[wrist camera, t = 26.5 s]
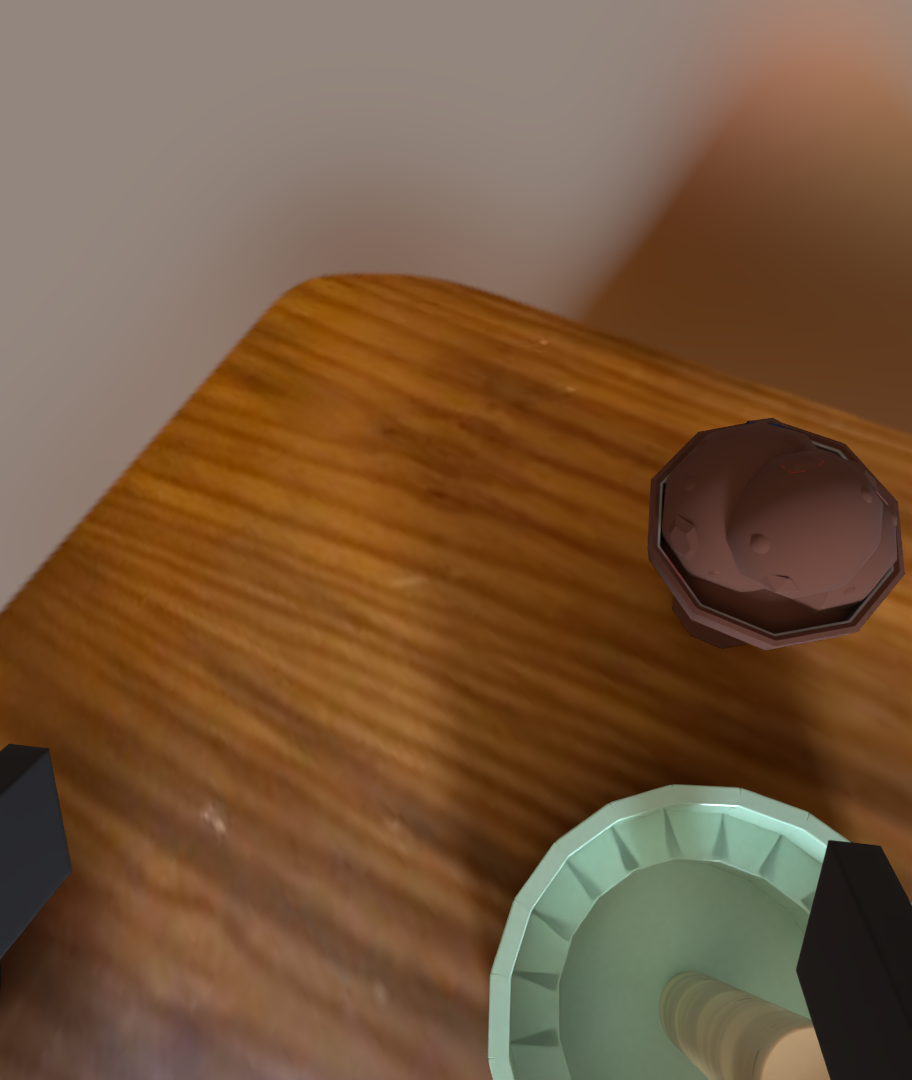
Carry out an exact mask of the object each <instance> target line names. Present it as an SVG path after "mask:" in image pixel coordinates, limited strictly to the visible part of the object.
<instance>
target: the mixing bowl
mask: <svg viewBox="0 0 912 1080" xmlns="http://www.w3.org/2000/svg"><path fill="white" fill-rule="evenodd" d="M828 840H834V841H843V842H850V841H849V840H847V839H846V838H845V837H843V836H842V835H840V834H839V833H838V832H836V831H835V830H833V829H832V828H831V827H829V826H828V825H826V824H825V823H824V822H822V821H821V820H819V819H818V818H817V817H815V816H814V815H812V814H811V813H808V812H807V811H805V810H803V809H800V808H797V807H794V806H791V805H789V804H786V803H783V802H780V801H778V800H775V799H772V798H769V797H766V796H764V795H761V794H758V793H755V792H753V791H750V790H747V789H744V788H739V787H728V786H706V785H683V784H673V785H667V786H663V787H660V788H656V789H653V790H650V791H646V792H643V793H639V794H636V795H633V796H629V797H626V798H622V799H619V800H615V801H612V802H610V803H608V804H606V805H604V806H603V807H602V808H600V809H599V810H598V811H596V812H595V813H593V814H592V815H591V816H589V817H588V818H586V819H585V820H584V821H582V822H581V823H580V824H578V825H577V826H575V827H574V828H573V829H571V830H570V831H568V832H567V833H566V834H564V835H563V836H561V837H560V838H559V839H557V840H556V841H555V842H554V843H553V844H552V846H551V847H550V849H549V850H548V851H547V853H546V854H545V856H544V857H543V859H542V860H541V861H540V863H539V864H538V866H537V867H536V868H535V870H534V871H533V873H532V874H531V875H530V877H529V878H528V880H527V881H526V883H525V884H524V885H523V887H522V888H521V890H520V891H519V892H518V894H517V895H516V897H515V898H514V899H515V900H514V901H513V903H512V906H511V909H510V912H509V916H508V919H507V922H506V925H505V928H504V931H503V934H502V937H501V940H500V944H499V947H498V950H497V953H496V956H495V959H494V962H493V965H492V969H491V973H490V993H489V1026H488V1062H489V1066H490V1070H491V1075H492V1079H493V1080H709V1079H708V1078H707V1077H706V1076H705V1075H704V1074H703V1073H702V1072H701V1071H700V1070H699V1069H698V1068H697V1067H696V1066H695V1065H694V1064H693V1063H692V1062H691V1061H690V1060H689V1059H688V1058H687V1057H686V1056H685V1055H684V1054H683V1053H682V1052H681V1051H680V1050H679V1049H678V1048H677V1047H676V1046H675V1045H674V1044H673V1043H672V1042H671V1041H670V1039H669V1038H668V1037H667V1035H666V1033H665V1031H664V1029H663V1027H662V1024H661V1020H660V1015H659V1002H660V997H661V994H662V991H663V989H664V987H665V986H666V984H667V983H668V982H669V981H670V980H671V979H672V978H673V977H675V976H676V975H678V974H680V973H684V972H700V973H703V974H706V975H708V976H710V977H713V978H715V979H717V980H720V981H722V982H724V983H727V984H729V985H731V986H734V987H736V988H738V989H741V990H743V991H745V992H748V993H750V994H752V995H755V996H757V997H759V998H762V999H764V1000H766V1001H769V1002H771V1003H773V1004H776V1005H778V1006H780V1007H783V1008H785V1009H787V1010H790V1011H792V1012H794V1013H797V1014H799V1015H801V1016H804V1017H806V1018H808V1019H811V1017H810V1014H809V1011H808V1007H807V1004H806V1001H805V998H804V995H803V992H802V988H801V985H800V982H799V979H798V976H797V973H796V967H797V963H798V959H799V955H800V951H801V947H802V943H803V939H804V935H805V931H806V927H807V923H808V919H809V915H810V912H811V908H812V904H813V900H814V896H815V892H816V888H817V884H818V880H819V876H820V872H821V868H822V864H823V860H824V856H825V852H826V848H827V844H828ZM851 843H852V842H851ZM910 903H911V902H910ZM911 905H912V903H911Z"/></svg>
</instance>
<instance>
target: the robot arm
mask: <svg viewBox="0 0 912 1080" xmlns="http://www.w3.org/2000/svg"><path fill="white" fill-rule="evenodd" d="M71 872H72V868H71V863H70V857H69V852H68V847H67V841H66V836H65V831H64V826H63V820H62V815H61V810H60V804H59V799H58V794H57V788H56V783H55V778H54V772H53V767H52V762H51V757H50V751H49V748H40V747H32V746H23V745H14V744H8V745H7V746H6V747H5V748H4V749H3V750H1V751H0V959H1V958H2V957H3V956H4V954H5V953H6V952H7V951H8V949H9V948H10V947H11V946H12V944H13V943H14V942H15V941H16V939H17V938H18V937H19V936H20V935H21V933H22V932H23V931H24V930H25V928H26V927H27V926H28V925H29V923H30V922H31V921H32V920H33V918H34V917H35V916H36V915H37V914H38V912H39V911H40V910H41V909H42V907H43V906H44V905H45V904H46V902H47V901H48V900H49V899H50V897H51V896H52V895H53V894H54V893H55V891H56V890H57V889H58V888H59V886H60V885H61V884H62V883H63V881H64V880H65V879H66V878H67V877H68V875H69V874H70V873H71ZM796 973H797V976H798V979H799V982H800V985H801V988H802V992H803V995H804V998H805V1001H806V1004H807V1007H808V1011H809V1014H810V1017H811V1020H812V1023H813V1026H814V1030H815V1033H816V1036H817V1039H818V1042H819V1045H820V1049H821V1052H822V1055H823V1058H824V1061H825V1064H826V1067H827V1071H828V1074H829V1077H830V1080H912V905H911V903H910V901H909V899H908V897H907V895H906V893H905V892H904V890H903V888H902V886H901V884H900V882H899V880H898V878H897V876H896V875H895V873H894V871H893V869H892V867H891V865H890V863H889V861H888V859H887V857H886V856H885V854H884V852H883V850H882V848H881V846H877V845H868V844H860V843H851V842H843V841H834V840H828V844H827V848H826V852H825V856H824V860H823V864H822V868H821V872H820V876H819V880H818V884H817V888H816V892H815V896H814V900H813V904H812V908H811V912H810V915H809V919H808V923H807V927H806V931H805V935H804V939H803V943H802V947H801V951H800V955H799V959H798V963H797V967H796Z"/></svg>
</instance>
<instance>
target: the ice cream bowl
mask: <svg viewBox="0 0 912 1080" xmlns="http://www.w3.org/2000/svg"><path fill="white" fill-rule="evenodd" d="M648 555H649V561H650V562H651V563H652V565H653V566H654V568H655V569H656V571H657V572H658V573H659V575H660V576H661V578H662V579H663V580H664V582H665V583H666V585H667V586H668V588H669V589H670V590H671V592H672V593H673V611H674V612H675V614H676V615H677V616H678V618H679V619H680V621H681V622H682V624H683V625H684V626H685V628H686V629H687V631H688V632H689V634H690V635H691V636H693V637H695V638H698V639H700V640H703V641H705V642H707V643H710V644H712V645H714V646H717V647H719V648H722V649H723V648H728V647H734V646H739V645H745V644H751V645H754V646H756V647H758V648H761V649H763V650H769V649H775V648H780V647H786V646H791V645H796V644H802V643H807V642H813V641H818V640H824V639H829V638H835V637H840V636H844V635H847V634H851V633H854V632H858V631H859V630H860V628H861V627H862V626H863V625H864V623H865V622H866V621H867V620H868V619H869V617H870V616H871V615H872V614H873V612H874V611H875V610H876V609H877V608H878V606H879V605H880V604H881V603H882V601H883V600H884V599H885V598H886V596H887V595H888V594H889V593H890V592H891V590H892V589H893V588H894V587H895V585H896V584H897V583H898V582H899V581H900V579H901V578H902V577H903V576H904V574H905V572H904V561H903V551H902V541H901V531H900V520H899V510H898V502H897V501H896V499H895V498H894V497H893V496H892V495H891V494H890V493H889V492H888V491H887V490H886V488H885V487H884V486H883V485H882V484H881V483H880V482H879V481H878V480H877V478H876V477H875V476H874V475H873V474H872V473H871V472H870V471H869V470H868V469H867V467H866V466H865V465H864V464H863V463H862V462H861V461H860V460H859V459H858V457H857V456H856V455H855V454H854V453H853V452H852V451H851V450H850V449H849V447H848V446H847V445H846V444H844V443H841V442H838V441H835V440H832V439H829V438H826V437H823V436H820V435H817V434H814V433H811V432H808V431H805V430H802V429H799V428H796V427H793V426H790V425H787V424H784V423H782V422H780V421H778V420H776V419H774V418H768V419H761V420H753V421H747V423H745V424H739V425H734V426H728V427H723V428H718V429H712V430H707V431H701V432H698V433H697V434H696V435H695V436H694V437H693V438H692V439H691V440H690V441H689V442H688V443H687V444H686V445H685V446H684V447H683V448H682V449H681V450H680V451H679V452H678V453H677V454H676V455H675V456H674V457H673V458H672V459H671V460H670V461H669V462H668V463H667V464H666V465H665V466H664V467H663V468H662V469H661V470H660V471H659V472H658V473H657V474H656V475H655V476H654V477H653V478H652V479H651V493H650V512H649V531H648Z"/></svg>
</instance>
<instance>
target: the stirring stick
mask: <svg viewBox="0 0 912 1080" xmlns="http://www.w3.org/2000/svg"><path fill="white" fill-rule="evenodd" d="M659 1015H660V1020H661V1024H662V1027H663V1029H664V1031H665V1033H666V1035H667V1037H668V1038H669V1039H670V1041H671V1042H672V1043H673V1044H674V1045H675V1046H676V1047H677V1048H678V1049H679V1050H680V1051H681V1052H682V1053H683V1054H684V1055H685V1056H686V1057H687V1058H688V1059H689V1060H690V1061H691V1062H692V1063H693V1064H694V1065H695V1066H696V1067H697V1068H698V1069H699V1070H700V1071H701V1072H702V1073H703V1074H704V1075H705V1076H706V1077H707V1078H708V1079H709V1080H830V1077H829V1074H828V1071H827V1067H826V1064H825V1061H824V1058H823V1055H822V1052H821V1049H820V1045H819V1042H818V1039H817V1036H816V1033H815V1030H814V1026H813V1023H812V1020H811V1019H808V1018H806V1017H804V1016H801V1015H799V1014H797V1013H794V1012H792V1011H790V1010H787V1009H785V1008H783V1007H780V1006H778V1005H776V1004H773V1003H771V1002H769V1001H766V1000H764V999H762V998H759V997H757V996H755V995H752V994H750V993H748V992H745V991H743V990H741V989H738V988H736V987H734V986H731V985H729V984H727V983H724V982H722V981H720V980H717V979H715V978H713V977H710V976H708V975H706V974H703V973H700V972H684V973H680V974H678V975H676V976H675V977H673V978H672V979H671V980H670V981H669V982H668V983H667V984H666V986H665V987H664V989H663V991H662V994H661V997H660V1002H659Z"/></svg>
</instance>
